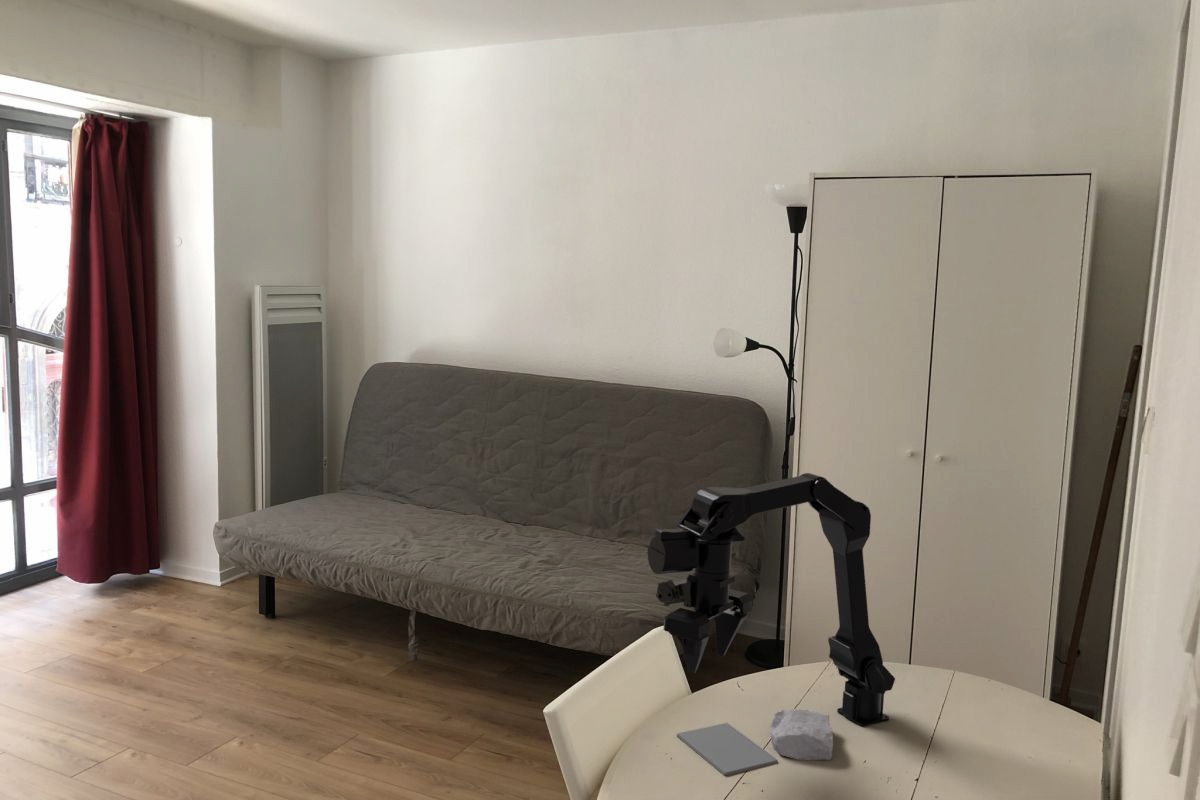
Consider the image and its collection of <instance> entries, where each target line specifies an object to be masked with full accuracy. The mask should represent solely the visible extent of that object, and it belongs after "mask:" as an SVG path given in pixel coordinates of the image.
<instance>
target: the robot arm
mask: <svg viewBox="0 0 1200 800" xmlns="http://www.w3.org/2000/svg"><path fill="white" fill-rule="evenodd" d="M691 503H692V504H691V505H690V506H689V508H687V510H686V512H685V513H684V515H683V516H682V517H681V519H680V521H679V522H678V523H677V525H676V526H677V528H675V529H674V528H672V529H670V528H669V529H666V528H656V529H655V534H654V535H655V536H654V537H652V538H651V540H650V542H649V546H647V560H648V564H649V567H650V569H651V571H652V572H653V574H655V575H664V574H675V573H687V572H689V574H687V577H686V578H685V579H679V580H674V581H672V580H671V579H669V580H663V581H660V582H658V584H657V588H656V589H657V590H656V596H655V597H656V599H657V600H658V601H659V602H660V603H663V606H664V607H668V606H670V605H673V604H681V603H683V608H682V607H680V608H678V609H676V610H673V611H671V612H669V613H667V614H666V615H665V616H664V617H663V630H664V631H665V632H668V633H669V635H671V636H675V638H676V639H677V640H678V641H679V644H680V647H681V649H682V653H683V656H684V660H685V663H686V667H687V670H688V672H689V673H692V674H696V672H697V670H698V668H699V665H700V663H701V660H702V659H703V655H704V652H705V649H706V647H707V644H708V641H709V638H710V634H709V633H708V632H709V631H710V628H711V627H710V626H711V620H712V619H713V620H714V623H715V625H714V626H715V646H716V647H715V648H716V655H717V657H718V656H719V657H725V655H726V653H727V651H728V649H729V647H730V646H731V644H732V641H733V640H734V639H735V638H736V637H735V636H736V635H737V633H738V631H739V630H740V628H741V626H742V624H744V621H745V620H746V618H747V617H748V615H749V614H748V613H750V612H752V611H753V610H752V609H753V598H752V597H751V596H750V594H749V593H748V592H744V591H739V590H737V589H733V588H732V589H731V588H730V585H731V584H733V583H735V581H736V580H735V579H736V575H734V574H731V567H732V566H731V564H732V551H733V550H732V549H733V548H732V547H733V543H736V542H737V543H738V542H744V541H745V540H746V537H745V536H744V535H743V534H742V533H741V532H740V531H739V530H738V529H737V528H738V527H739V526H741V525H743V524H745V523H746V522H747V521H748V520H749V519H750V518H751V517H754V516H756V515H758V514H762V513H767V512H773V511H775V510H780V509H784V508H789V507H793V506H798V505H802V504H806V503H808V504H809V506H810V507H811V508H812V509H813V510H814V511H816V512H817V514H818V517H819V521H820V524H821V530H822V532H823V534H824V536H825V538H826V539H827V542H828V543H829V545H830V546H831V549H832V555H833V556H832V557H833V566H834V577H835V588H836V598H837V610H838V621H839V627H838V629H837V631H836V633H835V635H833V636H828V639H827V642H828V645H829V654H828V658H829V659H831V660H832V663H833V664H834V666H836V668H837V671H838V675H839V676H841V677H843V678H845V679H847V680H846V681H845V682H844V690H843V691H842V692H843V693H842V704H841V706H842V707H839V708H837V709H836V710H837V711H836V712H837V713H838V714H840V715H842V716H843V717H845V718H847V719H848V720H849V721H852V722H853V723H855V724H857V725H858V726H860V727H865V726H870V725H875V724H879V723H882V722H883V723H884V722H888V721H889V720H890V716H888V715H887V714H885V713H884V699H885V694H886V693H887V691H891V690H892V689H893V687H894V684H895V680H896V678H895V676H894V675H893V674H892V673H891V672H890V671H889V670H888V669H887V667H886V666H885V665H884V660H883V655H882V651H881V648H880V645H879V643H878V641H877V639H876V637H875V636H874V634H873V632H872V631H871V628H870V623H869V621H870V620H869V611H868V610H869V608H868V607H869V606H868V597H867V596H868V595H867V586H866V574H865V572H866V571H865V563H864V562H865V561H864V551H863V550H864V547H865V545H866V543H867V541H868V539H869V538H870V535H871V522H872V515H871V509H870V508H869V506H868V505H866V504H865V503H863V502H861V501H858V500H855V499H853V498H852V497H850V496H849V495H847V494H845V492H843V491H841V490H840V489H838V488H837V487H835V486H834V485H833V484H832V483H831V482H830V481H829V480H827V478H826V477H823V476H820V475H817V474H814V473H811V472H806V473H802V474H800V475H798V476H794V477H789V478H783V479H780V480H775V481H770V482H766V483H761V484H757V485H752V486H748V487H740V488H739V487H728V486H727V487H726V486H717V487H716V486H713V487H709V486H708V487H703V488H701V489H699V490H697V492H696V494H695V496H694V497H693V500H692V502H691ZM699 522H700V523H703V524H704V525H705V526H704V525H701V524H699ZM692 571H693V572H692ZM690 572H691V573H690ZM684 607H685V608H684ZM686 608H693V610H690V609H686Z"/></svg>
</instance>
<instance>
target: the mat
mask: <svg viewBox="0 0 1200 800" xmlns="http://www.w3.org/2000/svg"><path fill="white" fill-rule="evenodd" d="M676 737H677V738H678V739H679V740H680V741H682V742H683V743H684V744H685V745H687V746H688V747H689V748H690V749H692V751H694V752H695V753H696V754H698V755H699V756H700V757H701V758H702V759H704V760H705V761H706V762H707V763H709V765H711V767H713V768H714V769H716V771H718V772H719V773H720V774H722V775H723V776H724V777H725V776H729V775H734V774H738V773H742V772H745V771H750V770H754V769H758V768H761V767H760V766H762V767H765V765H766V766H769V764H770V765H772V764H773V765H774V764H777V763H778V759H777V758H776V757H775V756H773V755H772V754H771V753H769V752H768V751H766V750H765V749H764V748H762V747H761V746H760V745H758V744H756V743H755V742H754V741H753V740H751V738H749V737H747V736H746V735H744V734H743V733H742V732H740V731H739V730H737V728H735V727H733V726H732V725H731V724H729V723H728V722H724V723H720V724H715V725H710V726H706V727H702V728H701V727H699V728H697V729H692V730H686V731H682V732H678V733H676ZM757 767H758V768H757Z"/></svg>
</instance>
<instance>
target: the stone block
mask: <svg viewBox="0 0 1200 800" xmlns="http://www.w3.org/2000/svg"><path fill="white" fill-rule="evenodd" d="M772 718H773V719H772V720H771V722H770V723H771V725H770V728H769V734H770V740H771V745H772V748H773V749H775V751H776V752H777V754H779V755H781V756H784V757H787V758H791V759H794V760H800V761H801V760H805V761H806V760H807V761H826V762H828V761H831V759H832V758H833V750H834V735H833V730H832V727H831V725H830V724H831V723H830V716H829V713H827V712H826V713H819V712H816V711H814V710H809V709H802V708H790V709H789V708H788V709H782V710H780V711H777V712H775V713H773V717H772Z"/></svg>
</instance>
